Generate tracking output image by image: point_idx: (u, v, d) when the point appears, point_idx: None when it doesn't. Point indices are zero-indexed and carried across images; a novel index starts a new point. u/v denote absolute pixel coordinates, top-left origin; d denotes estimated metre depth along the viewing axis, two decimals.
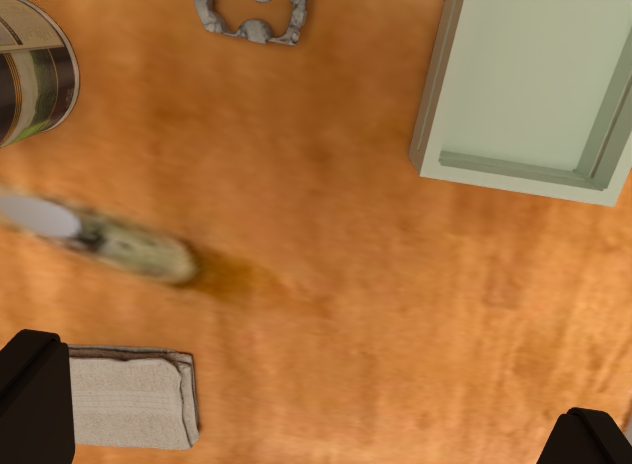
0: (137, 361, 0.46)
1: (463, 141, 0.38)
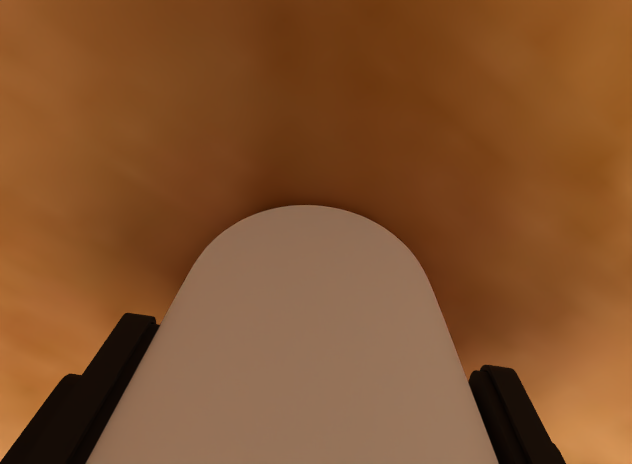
0: None
1: None
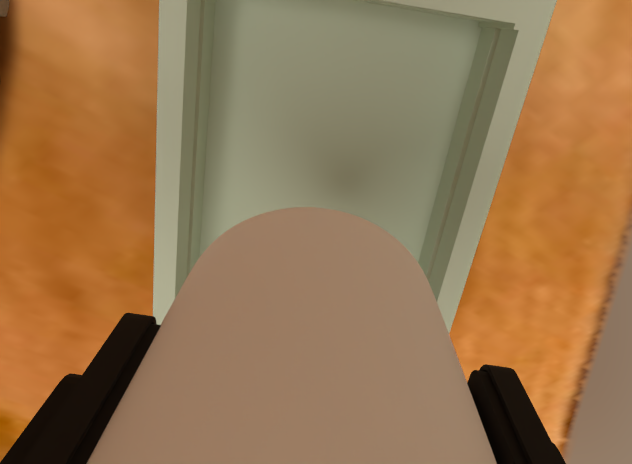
0: None
1: None
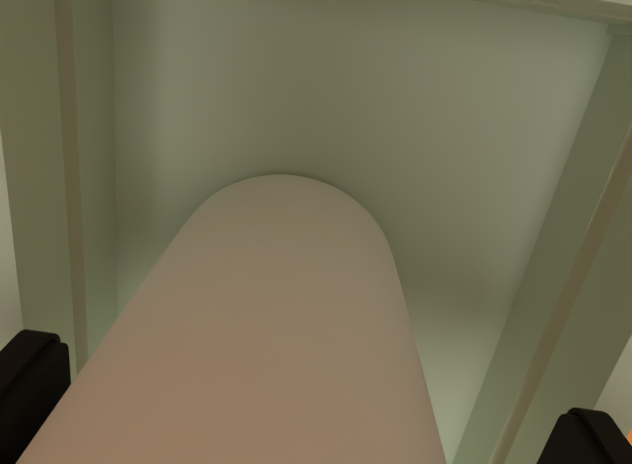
0: None
1: None
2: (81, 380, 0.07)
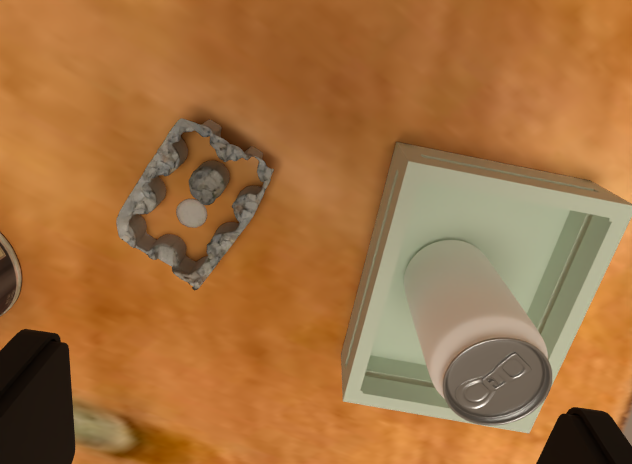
0: None
1: (392, 349, 0.39)
2: (445, 298, 0.28)
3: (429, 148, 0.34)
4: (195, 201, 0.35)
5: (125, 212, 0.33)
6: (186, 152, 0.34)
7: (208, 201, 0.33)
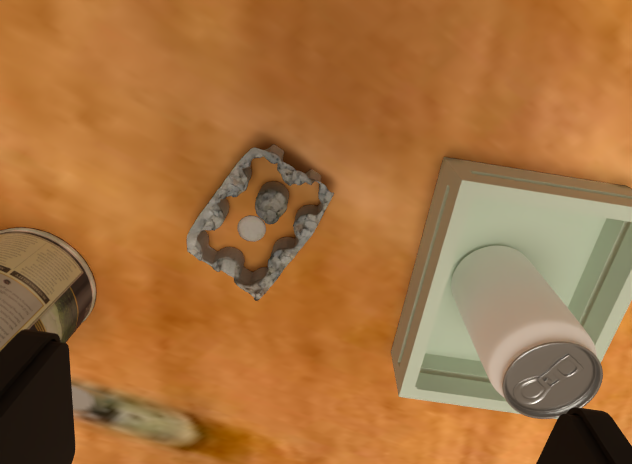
0: None
1: (440, 346, 0.42)
2: (498, 303, 0.31)
3: (474, 162, 0.36)
4: (255, 218, 0.38)
5: (195, 229, 0.36)
6: (250, 174, 0.37)
7: (272, 220, 0.36)
